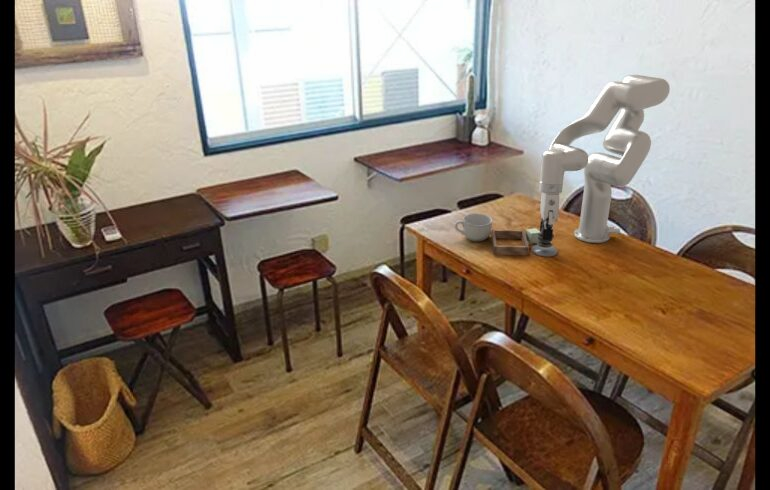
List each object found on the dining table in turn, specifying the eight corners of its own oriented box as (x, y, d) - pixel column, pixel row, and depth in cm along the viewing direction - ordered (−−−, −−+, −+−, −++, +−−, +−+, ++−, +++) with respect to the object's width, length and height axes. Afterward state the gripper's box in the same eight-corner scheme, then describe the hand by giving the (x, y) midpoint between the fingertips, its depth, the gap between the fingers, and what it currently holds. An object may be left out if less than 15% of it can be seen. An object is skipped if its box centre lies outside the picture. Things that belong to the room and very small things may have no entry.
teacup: (490, 232, 219) (491, 213, 216) (492, 244, 209) (493, 224, 206) (453, 232, 220) (454, 212, 217) (454, 243, 211) (454, 223, 207)
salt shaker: (553, 242, 203) (557, 210, 198) (552, 248, 198) (556, 216, 193) (536, 240, 205) (539, 208, 200) (535, 246, 200) (538, 214, 195)
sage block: (535, 238, 214) (536, 228, 212) (540, 242, 210) (541, 232, 208) (525, 239, 213) (526, 229, 211) (530, 243, 209) (531, 233, 208)
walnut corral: (523, 237, 214) (524, 230, 213) (528, 255, 200) (528, 247, 199) (491, 236, 215) (491, 229, 214) (493, 254, 202) (493, 246, 201)
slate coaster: (555, 246, 206) (555, 244, 206) (559, 257, 198) (559, 255, 198) (530, 245, 207) (530, 244, 207) (532, 256, 199) (533, 254, 199)
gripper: (566, 195, 184) (560, 246, 192) (558, 178, 200) (552, 226, 208) (542, 195, 185) (537, 245, 193) (536, 178, 201) (531, 225, 208)
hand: (545, 235), depth 200 cm, fingers closed on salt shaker, 5 cm apart
